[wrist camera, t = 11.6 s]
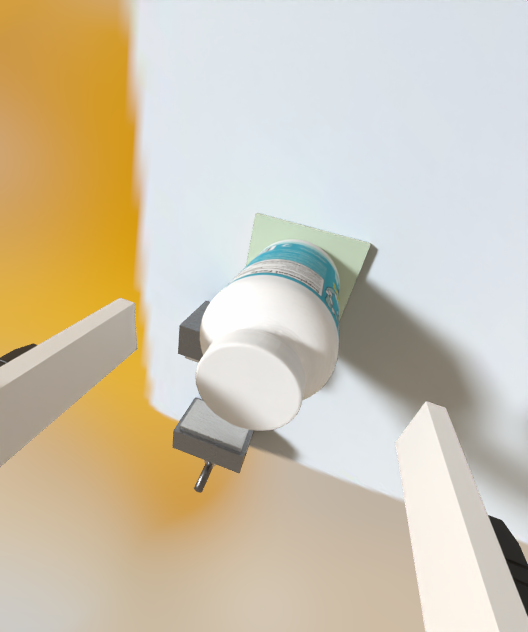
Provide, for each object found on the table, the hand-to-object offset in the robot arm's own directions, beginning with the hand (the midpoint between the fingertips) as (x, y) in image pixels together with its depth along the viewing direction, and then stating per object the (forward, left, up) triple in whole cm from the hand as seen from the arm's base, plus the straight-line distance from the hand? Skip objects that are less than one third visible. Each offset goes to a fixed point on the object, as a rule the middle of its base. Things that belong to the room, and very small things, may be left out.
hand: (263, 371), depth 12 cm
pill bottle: (0, 0, -13) cm, 13 cm away
